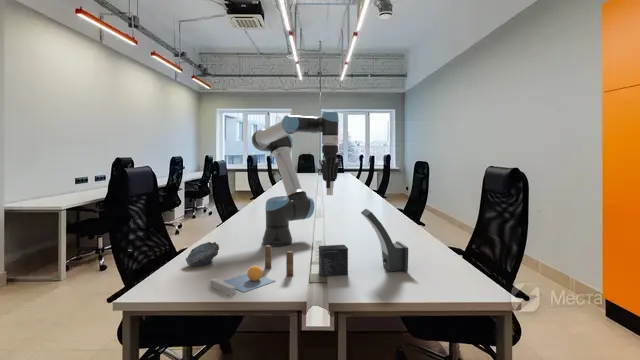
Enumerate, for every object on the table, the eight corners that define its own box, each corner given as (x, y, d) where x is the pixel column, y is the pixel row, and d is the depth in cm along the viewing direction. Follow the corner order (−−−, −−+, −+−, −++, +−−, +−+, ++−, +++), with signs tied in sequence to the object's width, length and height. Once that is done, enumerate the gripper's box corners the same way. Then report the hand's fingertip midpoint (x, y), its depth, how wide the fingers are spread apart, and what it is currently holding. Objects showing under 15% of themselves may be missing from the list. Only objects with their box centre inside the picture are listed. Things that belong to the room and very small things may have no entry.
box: (344, 269, 145) (344, 244, 144) (348, 275, 139) (348, 248, 138) (318, 271, 143) (318, 245, 142) (321, 276, 137) (321, 249, 136)
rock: (226, 260, 157) (210, 251, 162) (223, 245, 153) (207, 237, 158) (196, 281, 146) (181, 271, 151) (193, 265, 142) (177, 256, 147)
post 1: (263, 268, 146) (263, 246, 146) (268, 266, 148) (268, 244, 148) (267, 269, 145) (267, 247, 144) (272, 267, 147) (272, 246, 146)
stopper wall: (210, 286, 127) (210, 279, 126) (215, 284, 128) (215, 278, 128) (230, 295, 119) (230, 288, 118) (235, 294, 120) (235, 286, 120)
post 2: (285, 275, 138) (284, 252, 137) (289, 273, 140) (289, 250, 139) (289, 276, 136) (289, 253, 136) (294, 275, 138) (294, 252, 138)
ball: (250, 261, 134) (257, 270, 137) (241, 273, 131) (249, 282, 134) (261, 263, 131) (267, 273, 133) (251, 276, 127) (259, 285, 130)
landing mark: (220, 282, 131) (220, 281, 131) (251, 272, 141) (251, 272, 141) (243, 292, 121) (243, 292, 121) (275, 281, 132) (275, 280, 132)
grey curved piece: (358, 266, 150) (359, 207, 148) (398, 263, 152) (399, 206, 150) (366, 275, 139) (367, 212, 137) (408, 272, 142) (410, 211, 140)
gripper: (327, 144, 162) (326, 197, 164) (345, 145, 171) (344, 194, 173) (314, 144, 167) (314, 195, 169) (332, 145, 176) (332, 193, 178)
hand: (329, 195), depth 171 cm, fingers closed
